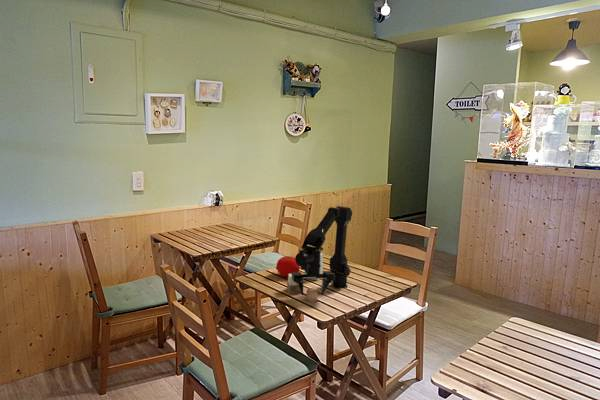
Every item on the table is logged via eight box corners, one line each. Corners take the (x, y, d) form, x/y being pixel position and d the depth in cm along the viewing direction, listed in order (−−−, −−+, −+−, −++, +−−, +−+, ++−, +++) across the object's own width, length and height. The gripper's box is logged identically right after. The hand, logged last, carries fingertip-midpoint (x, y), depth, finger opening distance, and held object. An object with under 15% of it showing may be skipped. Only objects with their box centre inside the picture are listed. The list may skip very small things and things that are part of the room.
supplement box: (322, 276, 220) (324, 253, 218) (317, 280, 213) (318, 256, 211) (310, 274, 223) (311, 251, 221) (304, 278, 216) (305, 254, 214)
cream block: (298, 281, 200) (298, 273, 199) (300, 285, 195) (300, 277, 194) (288, 281, 199) (288, 273, 198) (290, 285, 194) (290, 277, 193)
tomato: (299, 279, 213) (300, 259, 212) (275, 278, 213) (276, 258, 212) (299, 272, 224) (300, 253, 223) (276, 271, 225) (277, 252, 223)
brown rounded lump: (315, 297, 191) (316, 287, 190) (318, 301, 186) (319, 292, 186) (305, 297, 190) (305, 288, 189) (307, 302, 185) (308, 292, 185)
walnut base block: (299, 289, 201) (299, 281, 200) (301, 293, 195) (302, 285, 195) (286, 289, 200) (287, 281, 199) (289, 294, 194) (289, 285, 193)
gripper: (328, 255, 195) (327, 287, 198) (289, 256, 191) (288, 289, 194) (335, 262, 185) (334, 296, 187) (294, 263, 181) (293, 298, 183)
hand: (312, 294), depth 188 cm, fingers open, 9 cm apart
